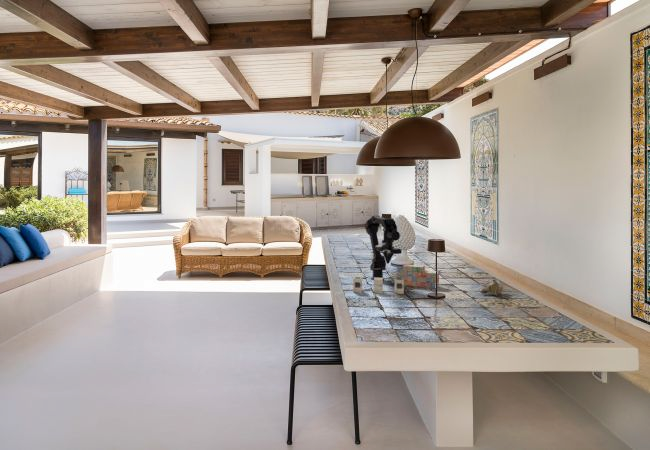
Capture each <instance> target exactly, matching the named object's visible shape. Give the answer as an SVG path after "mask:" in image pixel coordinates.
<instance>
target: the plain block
mask: <svg viewBox="0 0 650 450" xmlns="http://www.w3.org/2000/svg"><path fill="white" fill-rule="evenodd" d="M383 278H384V277H383ZM383 278H374V280H373V294H383V293H384V292H383V290H384V285H383V284H384V283H383V282H384V281H383Z"/></svg>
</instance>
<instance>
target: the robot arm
mask: <svg viewBox="0 0 650 450" xmlns="http://www.w3.org/2000/svg"><path fill="white" fill-rule="evenodd" d="M380 226H381V227H382V228H383V229H382V231H383V238H382V240H381V242H380V243H379V239H378V232H379V227H380ZM364 229H365V231H366V233H367V234H368V235H369V238H370V244H371V248H372V249H371V250H372V255H373V257H372V259H371V264H370V266H369V267H370V269H369V270H370V271H372V277H371V278H370V279H371V280H373V281H374V278H383V280H385V278H384V277H383V276H384V273H383V272H384V271H385V270H386V266H387V264H390V262H391V261H392V258H393V256H394V255H397V254H398V255H399V254H402V248H397V247H396V248H395V246H393V243H394V242H395V241H398V240H399V239H400V238H401V233H400V232H399V231H398V225H397V223H396V221H395V219H394V218H393V217H392V218H389V217H388V218H385V217H383V216H380V215H372V216H371V217H370V218H369V219H367V220H366V221H365V224H364Z"/></svg>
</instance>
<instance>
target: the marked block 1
mask: <svg viewBox="0 0 650 450" xmlns="http://www.w3.org/2000/svg"><path fill="white" fill-rule="evenodd" d="M352 285H353V286H352V293H360V294H361V293H362V292H363V277H361V276H360V277H358V276H356V277H355V276H354V277H352Z"/></svg>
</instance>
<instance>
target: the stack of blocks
mask: <svg viewBox="0 0 650 450" xmlns="http://www.w3.org/2000/svg"><path fill="white" fill-rule="evenodd" d="M425 269H426V267H425V265H422V264H421V265H419V264H407V263H406V264H404V265H402V278H403V279H404V286H411V287H418V286H419V288H428V289H429V288H430V289H436V288H435V283H436V272H437V288H438V287H440V283H439V282H440V271H434V270H433V271H432V270H425Z"/></svg>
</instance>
